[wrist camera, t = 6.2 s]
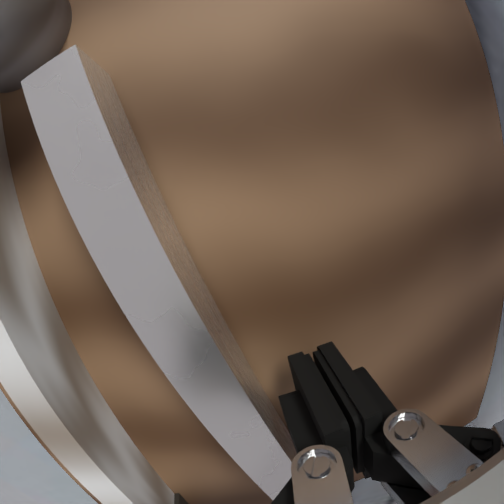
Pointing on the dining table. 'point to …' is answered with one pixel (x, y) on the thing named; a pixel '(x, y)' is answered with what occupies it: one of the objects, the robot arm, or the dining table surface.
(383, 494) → the dining table surface
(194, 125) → the tong board
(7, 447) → the dining table surface
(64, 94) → the bar
